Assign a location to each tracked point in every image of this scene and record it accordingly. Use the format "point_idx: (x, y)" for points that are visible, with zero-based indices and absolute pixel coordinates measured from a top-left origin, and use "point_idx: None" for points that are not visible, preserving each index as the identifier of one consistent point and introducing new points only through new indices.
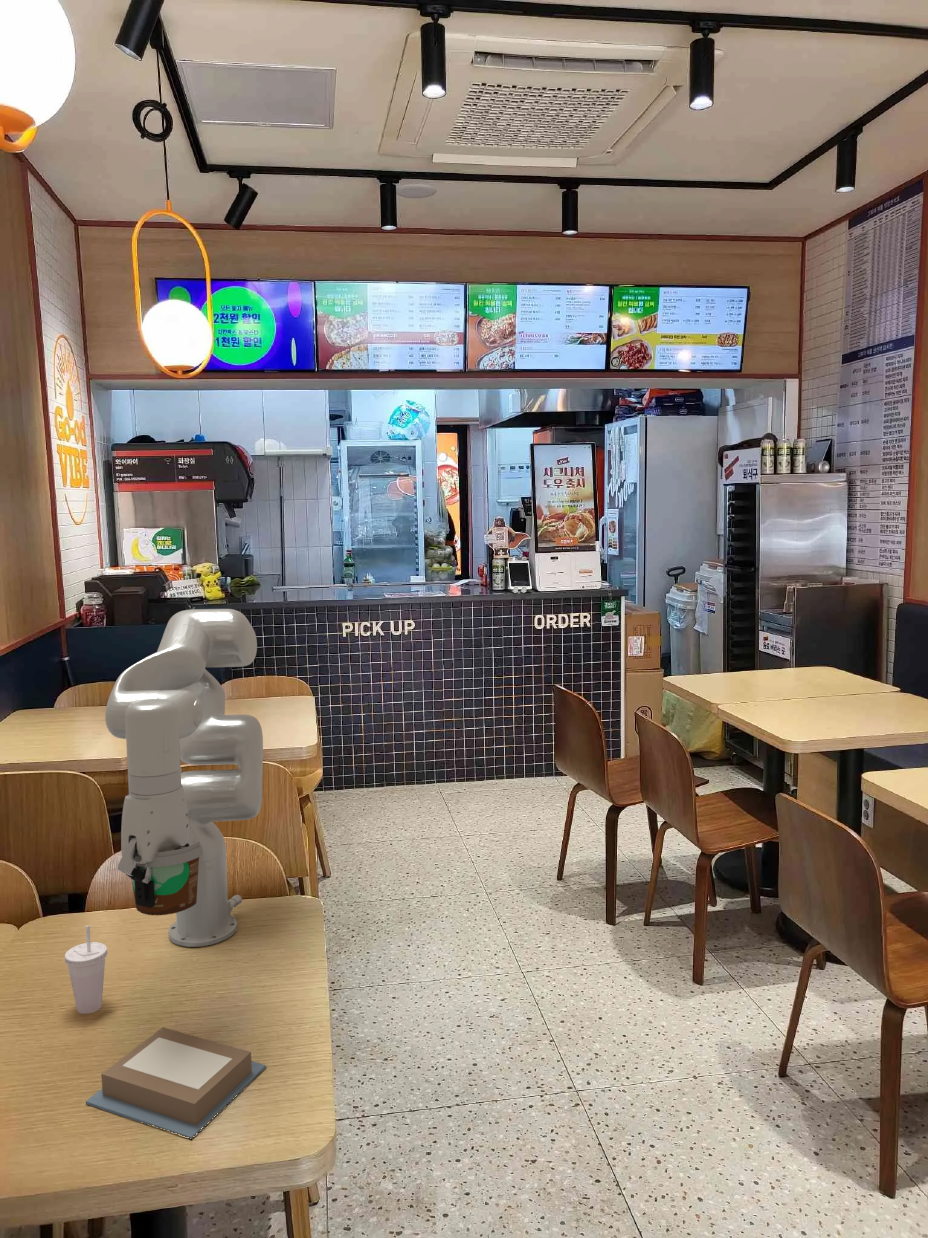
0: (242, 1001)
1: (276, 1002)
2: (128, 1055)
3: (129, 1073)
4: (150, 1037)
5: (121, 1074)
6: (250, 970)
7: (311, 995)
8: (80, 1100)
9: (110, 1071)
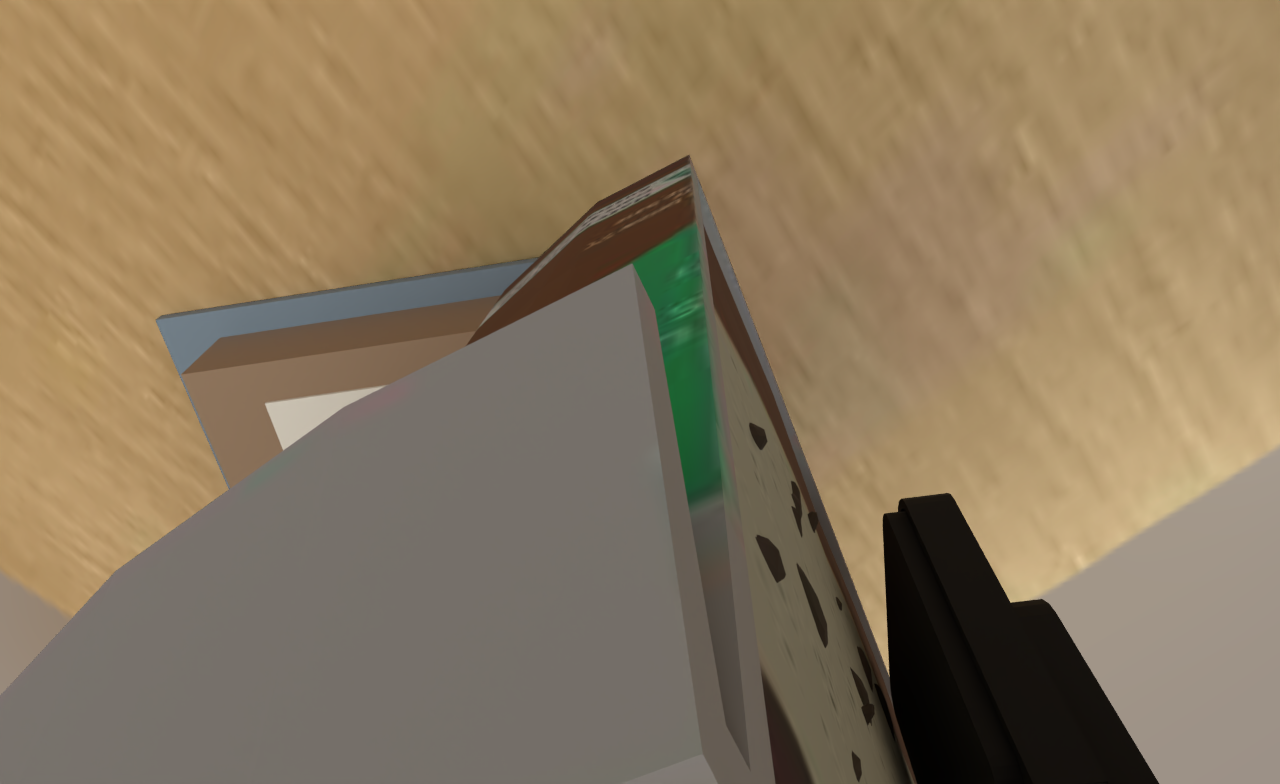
0: (995, 296)
1: (1045, 422)
2: (319, 366)
3: (263, 460)
4: (456, 339)
5: (237, 441)
6: (1276, 114)
7: (1147, 501)
8: (155, 277)
9: (215, 391)
